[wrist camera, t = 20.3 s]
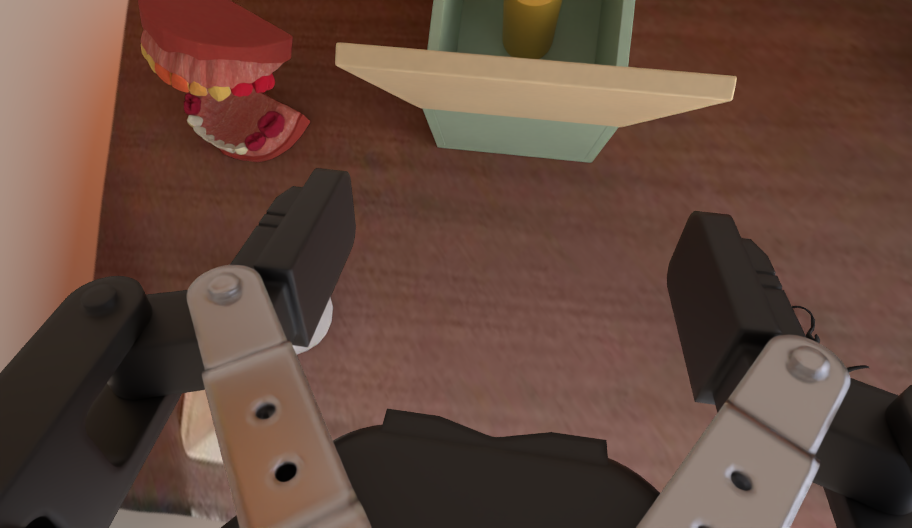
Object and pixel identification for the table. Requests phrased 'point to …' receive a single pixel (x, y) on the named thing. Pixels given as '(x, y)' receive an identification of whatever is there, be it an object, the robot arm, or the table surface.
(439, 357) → the table surface
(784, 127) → the table surface
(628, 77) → the lid
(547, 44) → the round shape
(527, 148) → the green open box
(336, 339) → the table surface
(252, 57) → the anatomical model
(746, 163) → the table surface
